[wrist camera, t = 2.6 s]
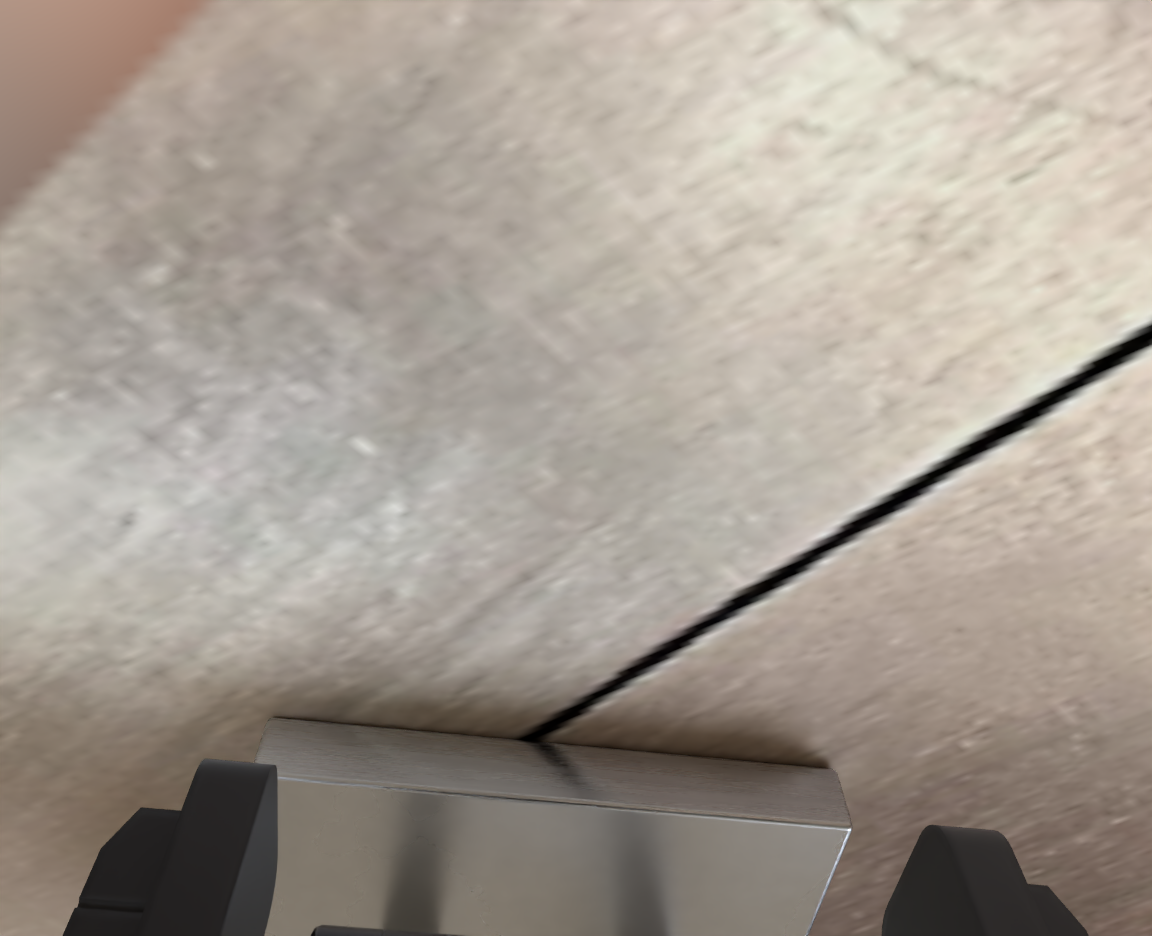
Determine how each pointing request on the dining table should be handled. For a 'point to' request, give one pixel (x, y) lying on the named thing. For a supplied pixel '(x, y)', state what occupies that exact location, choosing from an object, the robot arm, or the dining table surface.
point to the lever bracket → (542, 837)
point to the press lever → (367, 932)
